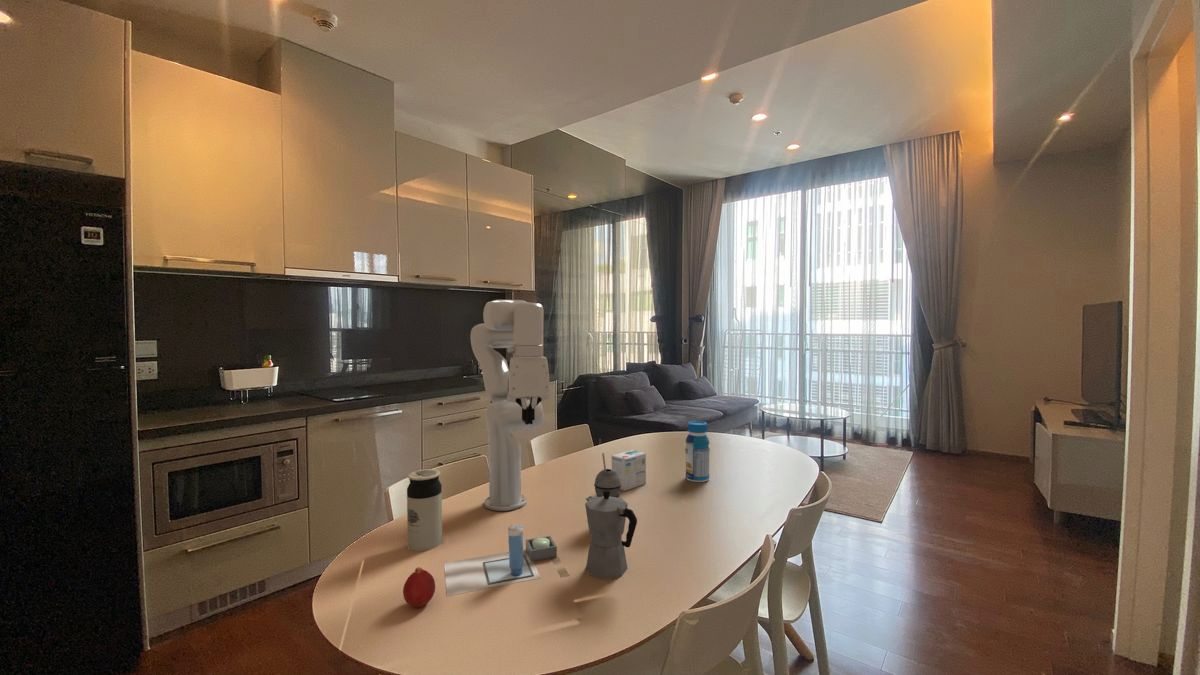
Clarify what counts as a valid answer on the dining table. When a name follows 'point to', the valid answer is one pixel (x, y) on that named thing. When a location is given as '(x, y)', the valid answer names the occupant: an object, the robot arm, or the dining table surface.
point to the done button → (540, 543)
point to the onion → (419, 588)
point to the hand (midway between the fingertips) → (528, 423)
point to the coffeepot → (608, 535)
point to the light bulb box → (630, 468)
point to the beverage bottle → (697, 452)
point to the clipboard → (490, 572)
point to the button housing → (541, 550)
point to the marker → (515, 549)
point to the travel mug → (424, 510)
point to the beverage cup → (607, 482)
